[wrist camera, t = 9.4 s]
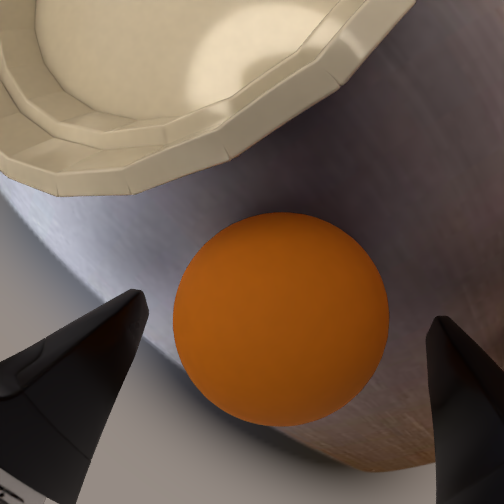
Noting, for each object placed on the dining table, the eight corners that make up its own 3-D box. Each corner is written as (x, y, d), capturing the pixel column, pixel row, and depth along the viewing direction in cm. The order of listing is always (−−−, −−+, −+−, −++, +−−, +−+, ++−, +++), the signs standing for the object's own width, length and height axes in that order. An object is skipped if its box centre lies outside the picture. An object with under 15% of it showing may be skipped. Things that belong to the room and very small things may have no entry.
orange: (217, 315, 13) (168, 438, 8) (202, 179, 10) (98, 288, 5) (357, 328, 12) (363, 462, 7) (386, 190, 9) (452, 322, 4)
